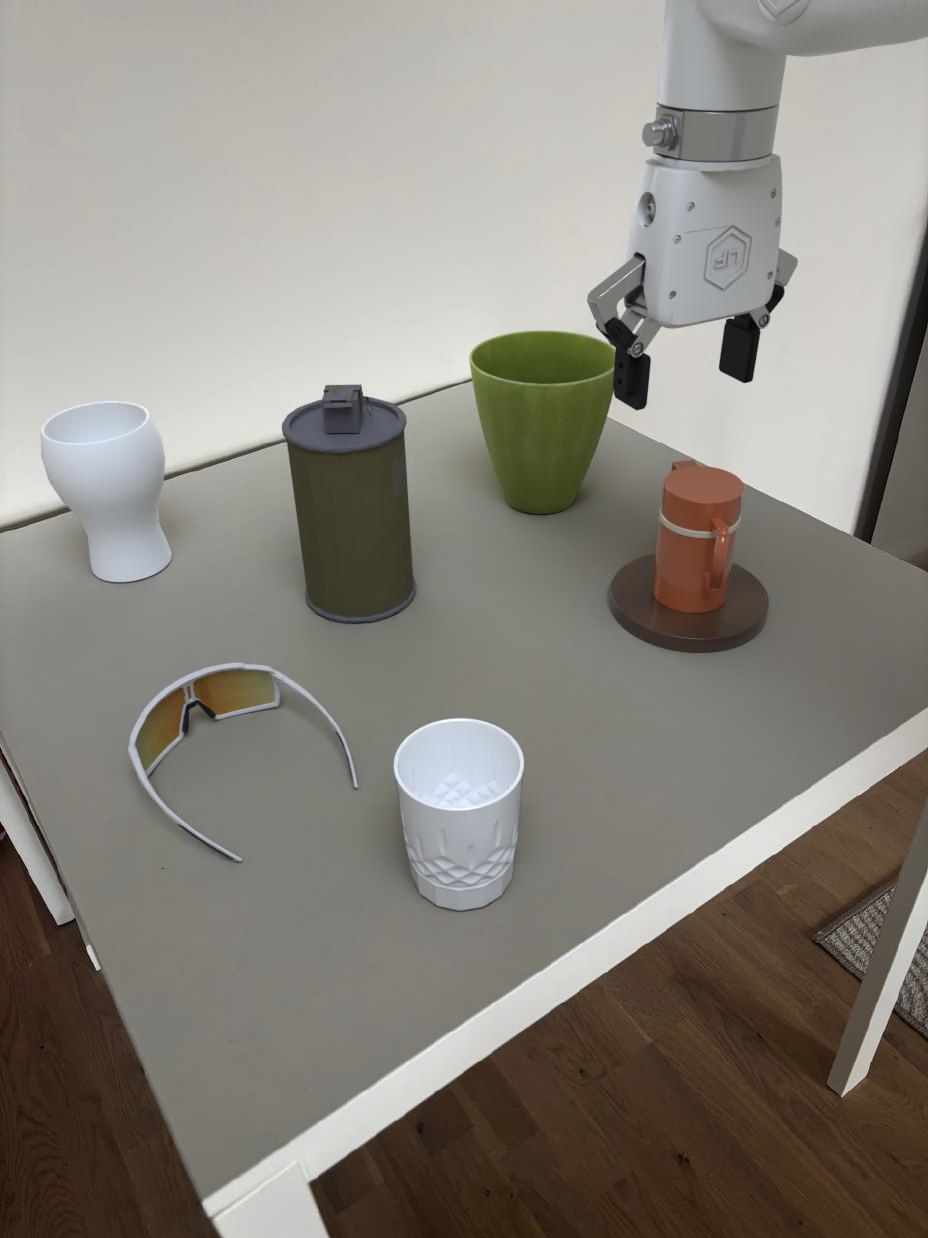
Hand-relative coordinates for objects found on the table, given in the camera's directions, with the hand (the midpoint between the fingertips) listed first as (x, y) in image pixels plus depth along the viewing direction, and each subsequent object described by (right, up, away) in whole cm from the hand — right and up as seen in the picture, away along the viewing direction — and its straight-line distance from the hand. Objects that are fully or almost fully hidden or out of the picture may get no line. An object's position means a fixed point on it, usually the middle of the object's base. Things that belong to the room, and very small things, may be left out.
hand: (683, 389), depth 72 cm
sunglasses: (-33, -29, +1) cm, 43 cm away
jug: (+4, -15, +16) cm, 22 cm away
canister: (-26, -14, +20) cm, 36 cm away
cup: (-49, -11, +25) cm, 56 cm away
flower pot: (-8, -4, +34) cm, 35 cm away
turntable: (+4, -16, +17) cm, 23 cm away
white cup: (-16, -34, -7) cm, 38 cm away
